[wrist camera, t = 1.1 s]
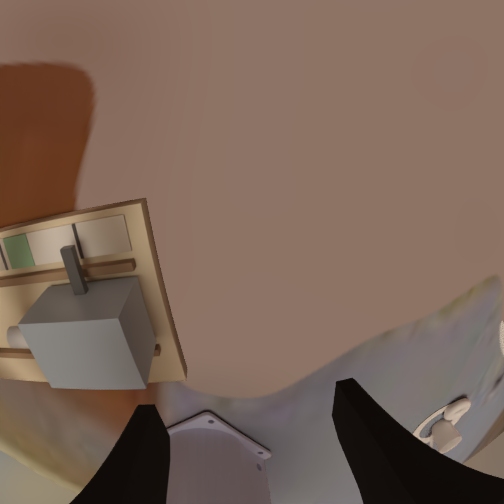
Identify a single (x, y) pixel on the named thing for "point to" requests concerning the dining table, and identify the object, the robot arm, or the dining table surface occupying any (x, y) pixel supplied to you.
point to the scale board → (94, 269)
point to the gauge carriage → (89, 332)
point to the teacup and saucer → (444, 429)
